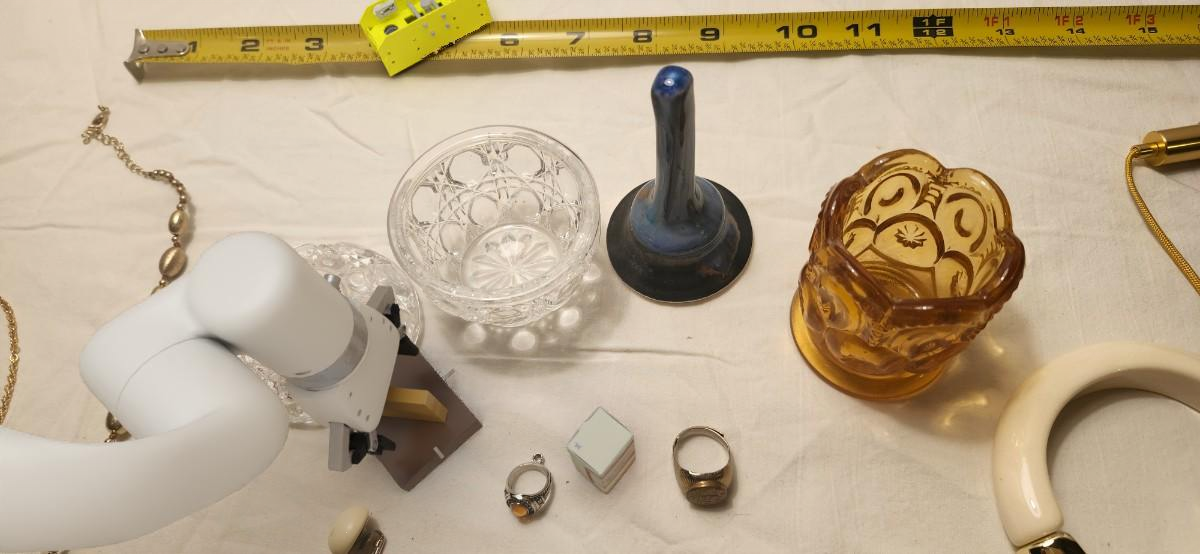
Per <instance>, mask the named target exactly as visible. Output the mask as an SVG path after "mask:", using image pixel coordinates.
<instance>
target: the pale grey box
mask: <svg viewBox="0 0 1200 554" xmlns="http://www.w3.org/2000/svg"><path fill="white" fill-rule="evenodd" d="M565 448H566V449H567V452H568V455H569V456H570V458H571V461H572V463H573V465H574V467H575V469H576V470H577V471H578V472H579V473H580V474H581V475H582V476H583V477H584V478H585V479H586V480H588V482H590V483H591V484H592V485H593V486H595V487H596V488H597V489H598V490H599V491H601V492H602V493H603V494H605V495H608V494H609V493H610V492H611V491H612V490H613V488H614V487H615V486H616V485H617V484H618V482H619V481H621V479H622V478H623V476H624V475H625V474H626V473H627V471H628V470H629V469H630V467H631V466H632V465H633V464H634V462H635V460H636V458H637V454H636V446H635V436H634V433H633V432H632V431H631V430H630V429H629V428H628V427H627V426H626V425H625V424H624V423H622V422H621V421H620V420H619V419H618V418H617V417H615V416H614V415H613V414H612V413H611V412H610V411H608V410H607V409H606V408H605V407H603V406H602V405H598V406H597V407H596V408H595V410H594V411H592V412H591V414H590V415H589V416H588V417H587V418H586V420H585V421H584V422H583V423H582V424H581V425H580V426H579V428H578V429H577V430H576V432H575V433H574V434H573V435H572V437H571V438H570V439H569V440H568V442H567V443H566V444H565Z"/></svg>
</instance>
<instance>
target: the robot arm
mask: <svg viewBox="0 0 1200 554" xmlns="http://www.w3.org/2000/svg"><path fill="white" fill-rule="evenodd" d="M341 280H342V278H341V277H340V276H338V275H336V274H333V273H332V274H331V273H324V274H323V275H322V274H321V273H320V272H319V271H317V269H316V268H315V267H313V265H311V264H310V263H309V262H308V261H307V260H306V259H305V258H304V257H303V256H302V255H301V254H300V253H299V252H298V251H297V250H296V249H295V248H294V247H293V246H292V245H290V243H288V242H286V241H285V240H284V239H282V238H281V237H279V236H277V235H274V234H273V233H268V232H264V231H259V230H257V231H256V230H247V231H240V232H236V233H231V234H229V235H226V236H225V237H222V238H220V239H219V240H217V241H215V242H213V243H212V244H211V245H209V247H207V248H206V249H205V250H204V251H203V252H202V253H201V254H200V255H199V257H198V258H197V260H196V261H195V262H194V264H193V265H192V268H191V269H190V270H189V271H187V272H186V273H184V274H183V275H182V276H180V277H178V278H177V279H175V280H173V282H171V283H169V284H167V285H166V286H165V287H162V288H161V289H159V290H157V291H156V292H154V293H152V294H150V295H149V296H147V297H145V298H144V299H142V300H140V301H138V302H137V303H135V304H133V305H132V306H130V307H129V308H127V309H125V310H124V311H122V312H119V314H117V315H115V316H114V317H112V318H111V319H110V320H109V321H107V322H105V323H104V324H103V325H102V326H101V327H99V329H97V330H96V331H95V332H94V333H93V334H92V335H91V337H90V338H89V339H88V340H87V341H86V343H84V345H83V347H82V349H81V351H80V354H79V357H78V362H77V363H78V372H79V376H80V379H81V381H82V383H83V384H84V385H85V387H86V388H87V389H88V391H89V392H90V393H91V394H92V395H93V396H94V397H95V398H96V400H97V401H98V402H99V403H100V404H101V405H102V406H103V407H104V408H105V409H106V410H107V411H108V412H109V413H110V414H111V415H112V416H113V417H114V418H115V419H116V421H118V423H119V424H120V425H121V426H122V427H123V428H124V430H126V432H128V434H129V435H131V437H133V439H130V440H124V441H123V440H122V441H109V442H107V441H106V442H89V441H73V440H63V439H57V438H50V437H47V436H41V435H37V434H33V433H30V432H29V433H28V432H25V431H21V430H18V429H15V428H12V427H8V426H6V425H4V424H0V553H1V554H2V553H3V554H4V553H5V554H9V553H10V554H11V553H12V554H14V553H17V554H19V553H23V554H24V553H43V552H44V553H45V552H59V551H61V552H62V551H73V550H84V549H95V548H100V547H101V548H102V547H106V546H112V545H118V544H121V543H125V542H129V541H132V540H136V539H140V538H143V537H145V536H147V535H151V534H153V533H155V532H157V531H159V530H161V529H163V528H166V527H168V526H170V525H172V524H174V523H176V522H179V521H181V520H183V519H185V518H187V517H189V516H191V515H193V514H196V513H197V512H200V511H202V510H204V509H207V508H208V507H210V506H212V505H213V504H216V503H218V502H221V501H222V500H223V499H226V498H227V497H229V496H230V495H232V494H235V493H236V492H237V491H240V490H241V489H243V488H245V486H247V485H248V484H250V483H251V482H253V481H254V480H257V478H258V477H260V476H261V475H262V474H263V473H264V472H265V471H266V470H268V468H270V467H271V465H272V464H273V463H274V462H275V461H276V459H277V458H278V457H279V455H280V454H281V452H282V451H283V449H284V447H285V445H286V443H287V440H288V436H289V431H290V416H289V412H288V410H287V408H286V405H285V404H284V402H283V400H282V398H281V397H280V396H279V395H278V393H277V392H276V391H274V389H273V388H272V387H271V386H270V385H269V384H268V383H267V382H266V381H265V380H264V379H262V378H261V376H260V375H258V373H256V371H255V370H253V369H252V368H251V367H250V366H249V365H248V364H246V362H244V361H243V360H242V359H241V358H240V357H239V356H247V357H249V358H251V359H252V360H255V362H258V363H259V364H261V365H262V366H264V367H266V368H267V369H269V370H271V371H273V372H274V373H275V374H277V375H279V376H280V377H282V378H284V379H285V383H284V385H285V386H284V387H285V390H286V392H287V393H288V396H289V397H290V398H291V399H292V401H293V402H294V403H295V405H297V407H299V409H300V410H302V411H303V412H304V413H305V414H306V415H307V416H308V417H310V418H311V419H312V420H314V421H315V422H316V423H318V425H321V426H322V427H324V428H327V429H329V439H328V440H329V442H328V443H329V444H328V462H327V463H328V465H327V468H328V471H331V472H332V471H333V472H340V473H344V472H346V471H347V470H349V469H351V468H352V467H353V466H354V465H359V464H360V463H361V462H362V461H363V460H364V458H365V457H366V456H367V455H372V456H376V455H382V452H383V450H390V451H395V449H396V445H395V442H393V441H391V440H390V439H388V438H386V437H385V436H383V435H379V434H377V432H376V427H377V425H378V424H379V421H380V418H381V415H382V412H383V408H384V404H385V401H386V397H387V393H388V389H389V385H390V381H391V377H392V373H393V369H394V365H395V361H396V357H397V355H408V356H417V355H418V353H419V352H420V348H419V347H418V346H417V345H416V344H415V343H414V342H413V341H412V340H411V338H410V337H409V336H408V334H406V333H407V325H406V324H404V323H403V324H402V323H401V308H400V305H399V304H398V303H396V297H395V293H394V289H393V287H392V286H391V285H382V284H379V285H377V286H376V288H375V290H373V293H372V294H371V296H370V297H369V299H368V301H367V302H366V304H365V303H364V302H361V301H359V300H357V299H355V298H351V297H350V296H346V295H344V294H343V293H342V290H341V287H340V284H341ZM356 430H358V431H364V433H361V432H357V431H356Z"/></svg>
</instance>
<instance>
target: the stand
mask: <svg viewBox="0 0 1200 554" xmlns="http://www.w3.org/2000/svg"><path fill="white" fill-rule="evenodd" d="M455 372H456V369H454V368H452V369H450V371H448V372H447V373H446V374H445V375H444V376H441V375H440V374H439V373H438V372H437V370H436V369H435V368H434V367H433V366H432V365H431V364H430V363H429V361H428V360H427V359H426V358H425V357H424V355H423V354H422V353H421V351H419V353H418V355H417V356H408V355H397V357H396V361H395V365H394V369H393V373H392V377H391V381H390V385H389V387H398V388H408V389H417V390H427V391H429V392H430V393H431V394H432V395H433V396H434V397H435V398H436V399H437V400H438V401H439V402H440V403H441V404H442V405H443V406H444V407H445V408H446V409H447V410H448V412H447V416H446V421H445V423H443V422H434V421H425V420H416V419H407V418H398V417H389V416H381V418H380V421H379V424H378V425H377V427H376V432H377V434H379V435H383V436H385V437H386V438H388V439H390V440H391V441H393V442H395V445H396V449H395V451H390V450H383V452H382V455H375V457H376V458H377V459H378V461H379V462H380V464H381V465H382V466H383V468H384V469H386V471H387V472H388V474H389V475H390V476H391V478H392V479H393V480H394V481H395V483H396V484H397V485H398V486H399V488H400V489H402V490H404V491H406V492H407V493H408V492H411V490H413V489H414V488H415V487H416V486H417V485H418V484H420V482H422V481H423V480H424V479H425V478H426V477H428V475H429V474H431V473H432V472H433V471H434V470H435V469H436V468H438V466H440V465H441V464H442V463H443V462H444V461H445V460H446V459H448V458H449V457H450V456H451V455H452V454H453V453H454V452H455V451H457V450H458V449H459V448H460V447H461V446H462V445H463V444H465V443H466V442H467V441H468V440H469V439H470V438H471V437H472V436H473V435H474V434H476V433H477V432H478V431H479V430H480V429H481V428H483V424H482V423H481V421H480V420H479V419H478V418H477V417H476V416H475V415H474V413H472V411H471V410H470V409H469V408H468V406H467V405H466V404H465V403H464V401H463V400H461V398H460V397H459V396H458V395H457V394H456V392H454V390H453V389H452V388H451V387H450V386H449V385H448V383H447V382H446V380H447V379H448V378H449V377H451V376H452V375H453V374H454V373H455ZM355 432H361V433H364V431H358V430H355Z"/></svg>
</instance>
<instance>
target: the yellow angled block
mask: <svg viewBox="0 0 1200 554" xmlns="http://www.w3.org/2000/svg"><path fill="white" fill-rule="evenodd" d="M447 412H448V410H447V409H446V408H445V407H444V406H443V405H442V404H441V403H440V402H439V401H438V400H437V399H436V398H435V397H434V396H433V395H432V394H431V393H430V392H429V391H427V390H417V389H408V388H398V387H389V389H388V393H387V397H386V401H385V404H384V408H383V412H382V415H381V416H389V417H398V418H407V419H416V420H425V421H434V422H443V423H445V421H446V416H447Z"/></svg>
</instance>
